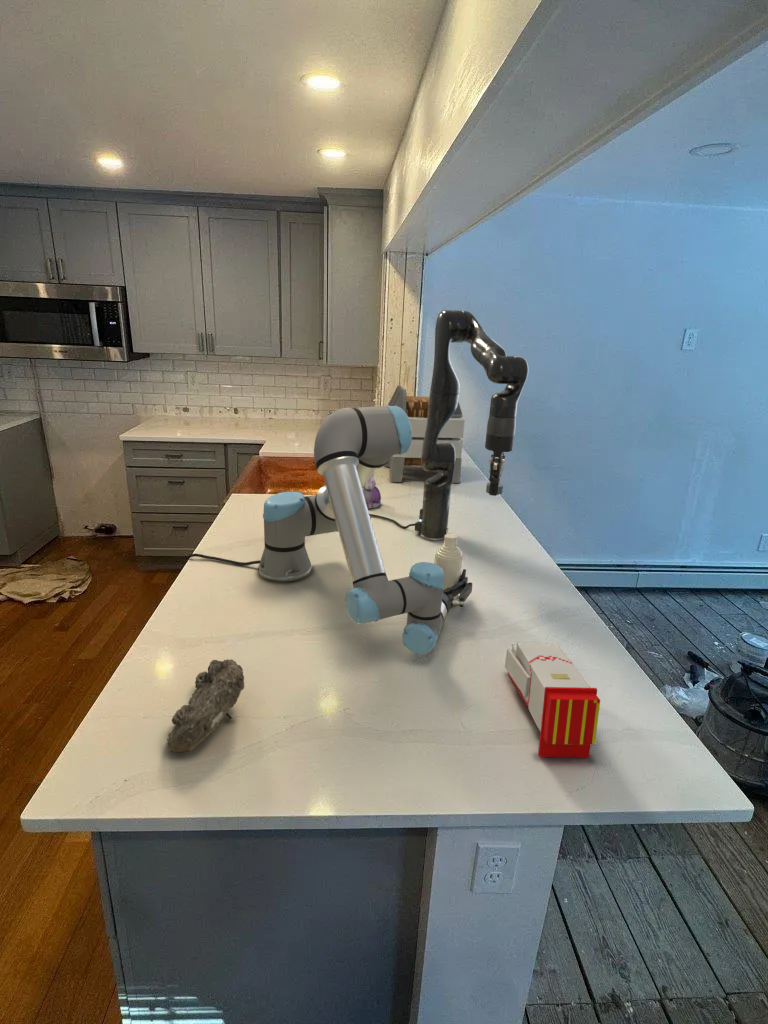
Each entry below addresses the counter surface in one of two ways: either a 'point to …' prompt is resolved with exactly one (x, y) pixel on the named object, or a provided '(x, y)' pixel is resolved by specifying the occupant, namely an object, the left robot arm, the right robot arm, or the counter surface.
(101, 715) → the counter surface
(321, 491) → the left robot arm
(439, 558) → the ribbed frosted cylinder
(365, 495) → the figurine
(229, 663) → the fossil
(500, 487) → the cap
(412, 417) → the transformer
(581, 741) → the toy
